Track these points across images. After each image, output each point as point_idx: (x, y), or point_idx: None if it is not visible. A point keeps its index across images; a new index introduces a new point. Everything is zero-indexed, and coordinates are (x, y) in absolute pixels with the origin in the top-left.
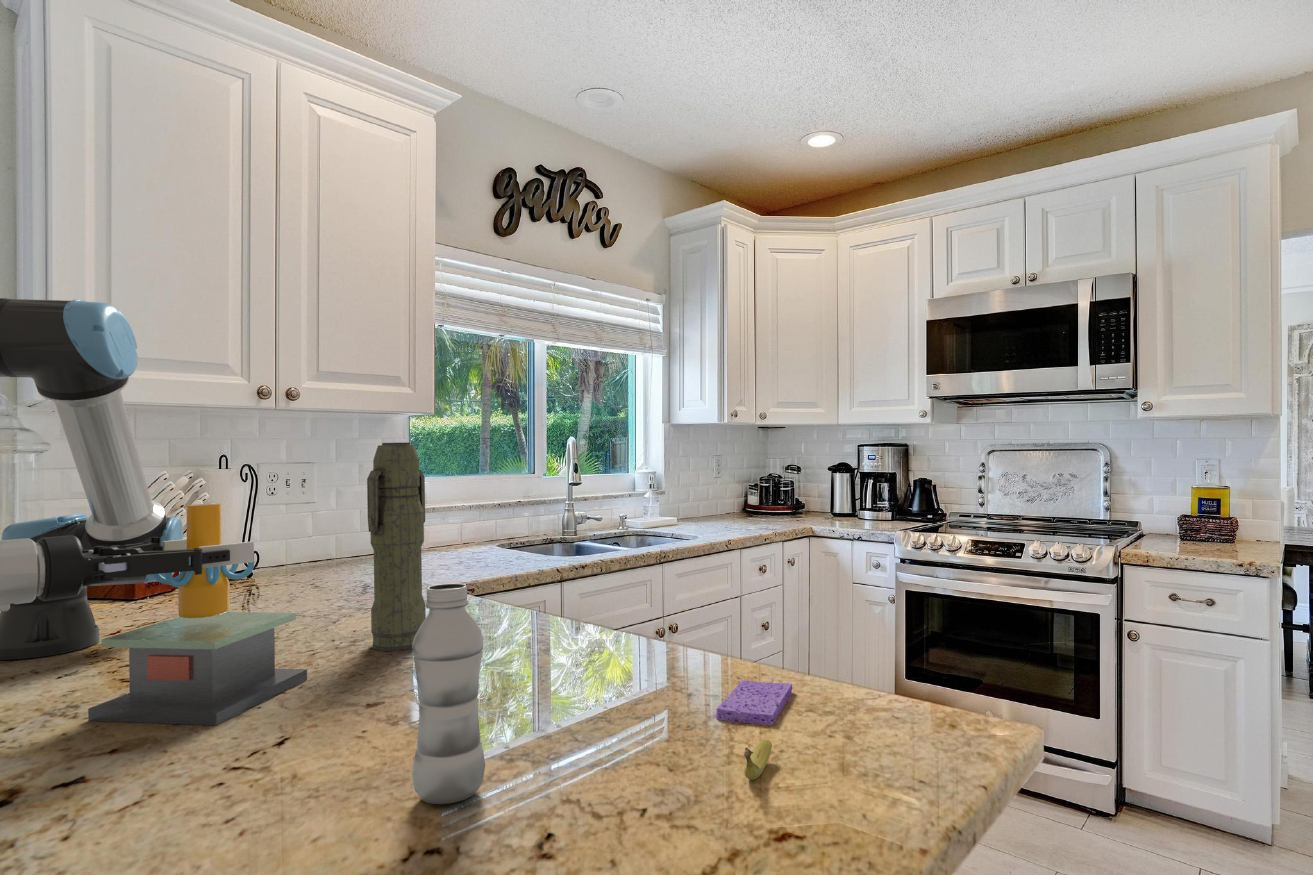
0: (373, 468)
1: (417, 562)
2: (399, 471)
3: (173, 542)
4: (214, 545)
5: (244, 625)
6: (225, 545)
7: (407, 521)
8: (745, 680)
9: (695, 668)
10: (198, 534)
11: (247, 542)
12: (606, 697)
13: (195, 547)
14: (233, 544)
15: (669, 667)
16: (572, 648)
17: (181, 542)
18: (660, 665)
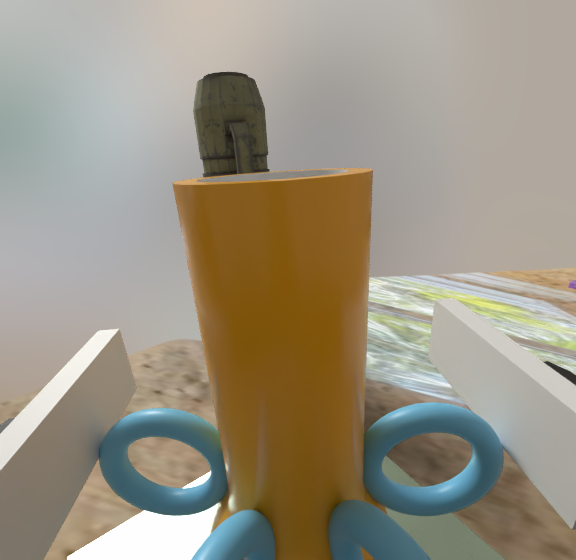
0: (212, 121)
1: None
2: (262, 126)
3: (11, 468)
4: (536, 377)
5: (395, 512)
6: (523, 352)
7: None
8: (572, 281)
9: (504, 284)
10: (363, 360)
11: (463, 307)
12: (570, 327)
13: (353, 431)
14: (502, 333)
15: (493, 289)
16: (398, 299)
17: (46, 434)
18: (485, 289)
